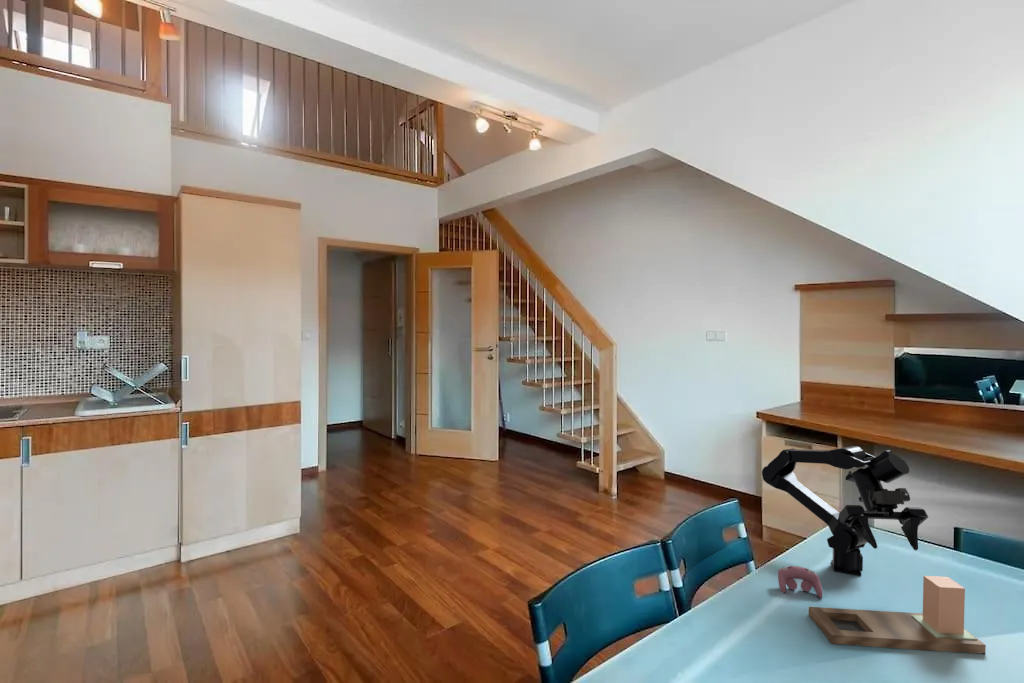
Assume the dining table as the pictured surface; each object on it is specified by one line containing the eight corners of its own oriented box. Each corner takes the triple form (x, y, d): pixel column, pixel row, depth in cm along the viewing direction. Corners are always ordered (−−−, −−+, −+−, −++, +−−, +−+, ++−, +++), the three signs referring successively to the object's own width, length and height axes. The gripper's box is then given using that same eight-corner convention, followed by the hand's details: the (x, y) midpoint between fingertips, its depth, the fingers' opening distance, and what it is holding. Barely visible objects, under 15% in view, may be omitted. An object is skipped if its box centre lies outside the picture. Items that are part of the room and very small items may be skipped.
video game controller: (820, 598, 130) (817, 569, 133) (824, 599, 126) (821, 568, 129) (777, 592, 133) (775, 564, 136) (780, 593, 129) (778, 563, 132)
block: (938, 632, 109) (939, 587, 109) (922, 619, 114) (923, 575, 114) (963, 634, 109) (964, 588, 109) (946, 620, 114) (947, 576, 113)
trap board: (831, 643, 109) (831, 633, 109) (808, 614, 120) (808, 605, 120) (985, 654, 106) (985, 643, 106) (946, 623, 117) (947, 613, 117)
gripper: (845, 474, 131) (869, 534, 120) (924, 476, 128) (955, 537, 118) (829, 494, 139) (850, 551, 128) (903, 496, 136) (931, 555, 126)
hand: (896, 548), depth 125 cm, fingers open, 9 cm apart
